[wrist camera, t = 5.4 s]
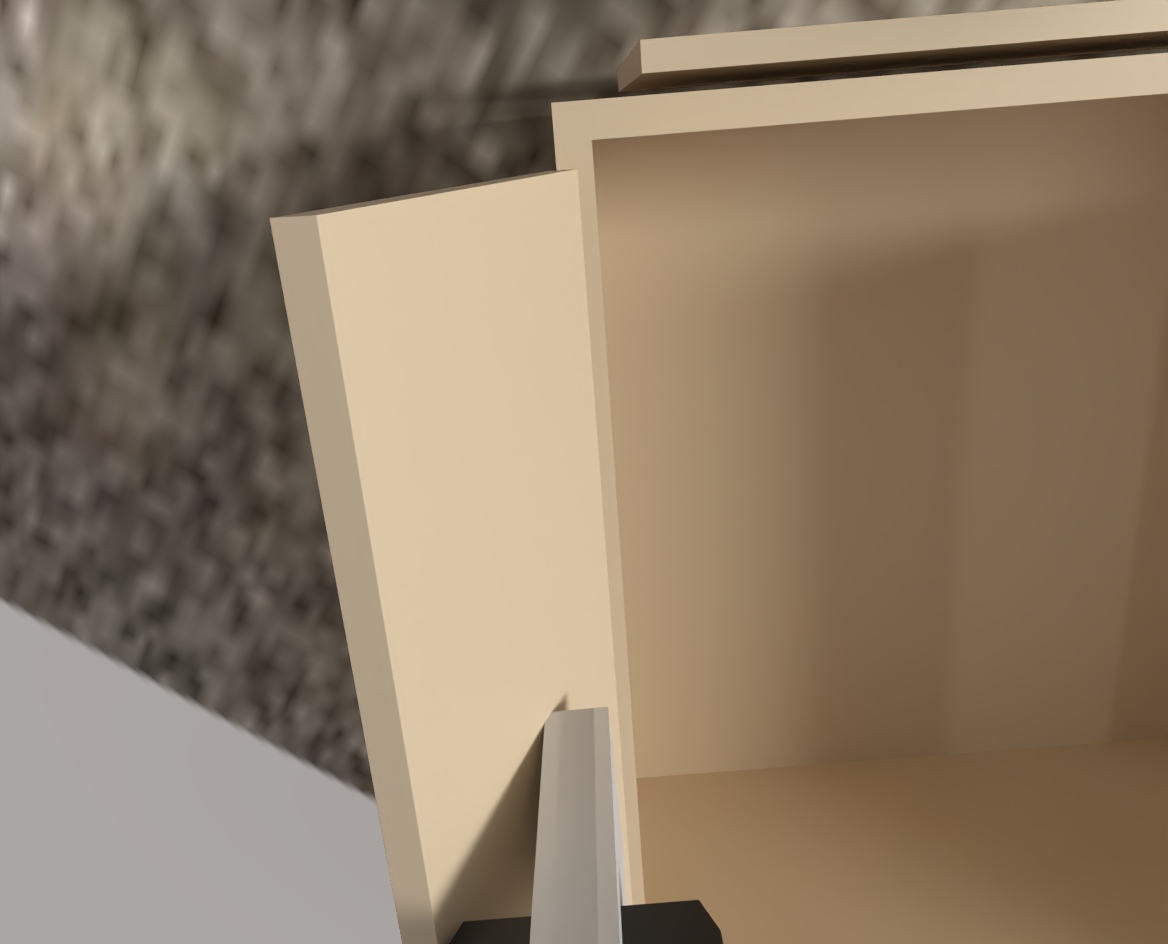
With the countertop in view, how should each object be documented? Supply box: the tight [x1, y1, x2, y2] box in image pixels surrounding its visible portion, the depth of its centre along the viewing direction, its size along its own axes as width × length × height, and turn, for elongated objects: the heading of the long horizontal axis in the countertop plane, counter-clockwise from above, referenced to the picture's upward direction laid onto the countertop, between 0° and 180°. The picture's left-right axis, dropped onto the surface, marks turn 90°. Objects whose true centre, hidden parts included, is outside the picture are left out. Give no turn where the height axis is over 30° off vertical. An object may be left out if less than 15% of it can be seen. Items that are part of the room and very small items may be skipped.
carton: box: [551, 0, 1168, 944], centre depth 22 cm, size 22×22×9 cm
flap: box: [270, 169, 633, 944], centre depth 15 cm, size 18×1×7 cm, turn 4°
